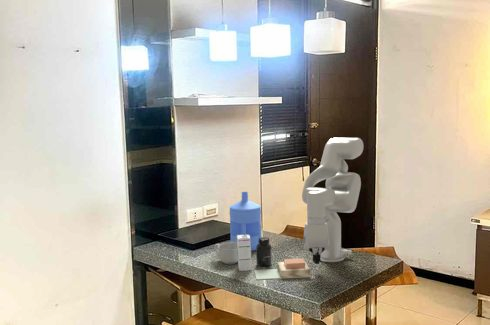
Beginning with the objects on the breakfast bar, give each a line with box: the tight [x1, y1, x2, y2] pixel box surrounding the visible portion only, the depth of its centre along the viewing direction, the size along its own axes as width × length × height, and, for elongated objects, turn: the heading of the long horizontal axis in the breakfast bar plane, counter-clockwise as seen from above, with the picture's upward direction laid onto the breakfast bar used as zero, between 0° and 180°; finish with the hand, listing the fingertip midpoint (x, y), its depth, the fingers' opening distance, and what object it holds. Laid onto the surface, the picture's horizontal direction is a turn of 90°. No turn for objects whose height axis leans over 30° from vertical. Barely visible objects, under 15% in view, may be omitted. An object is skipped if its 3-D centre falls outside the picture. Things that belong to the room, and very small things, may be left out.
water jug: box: [229, 191, 262, 252], centre depth 246 cm, size 16×16×28 cm
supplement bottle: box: [255, 236, 273, 268], centre depth 220 cm, size 7×7×12 cm
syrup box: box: [237, 235, 253, 272], centre depth 215 cm, size 6×6×14 cm
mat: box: [253, 268, 311, 281], centre depth 208 cm, size 22×11×1 cm, turn 94°
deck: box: [277, 260, 311, 279], centre depth 208 cm, size 12×11×3 cm
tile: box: [283, 257, 306, 268], centre depth 208 cm, size 8×6×2 cm
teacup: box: [213, 241, 238, 265], centre depth 226 cm, size 14×11×8 cm
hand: (316, 263), depth 208 cm, fingers closed
